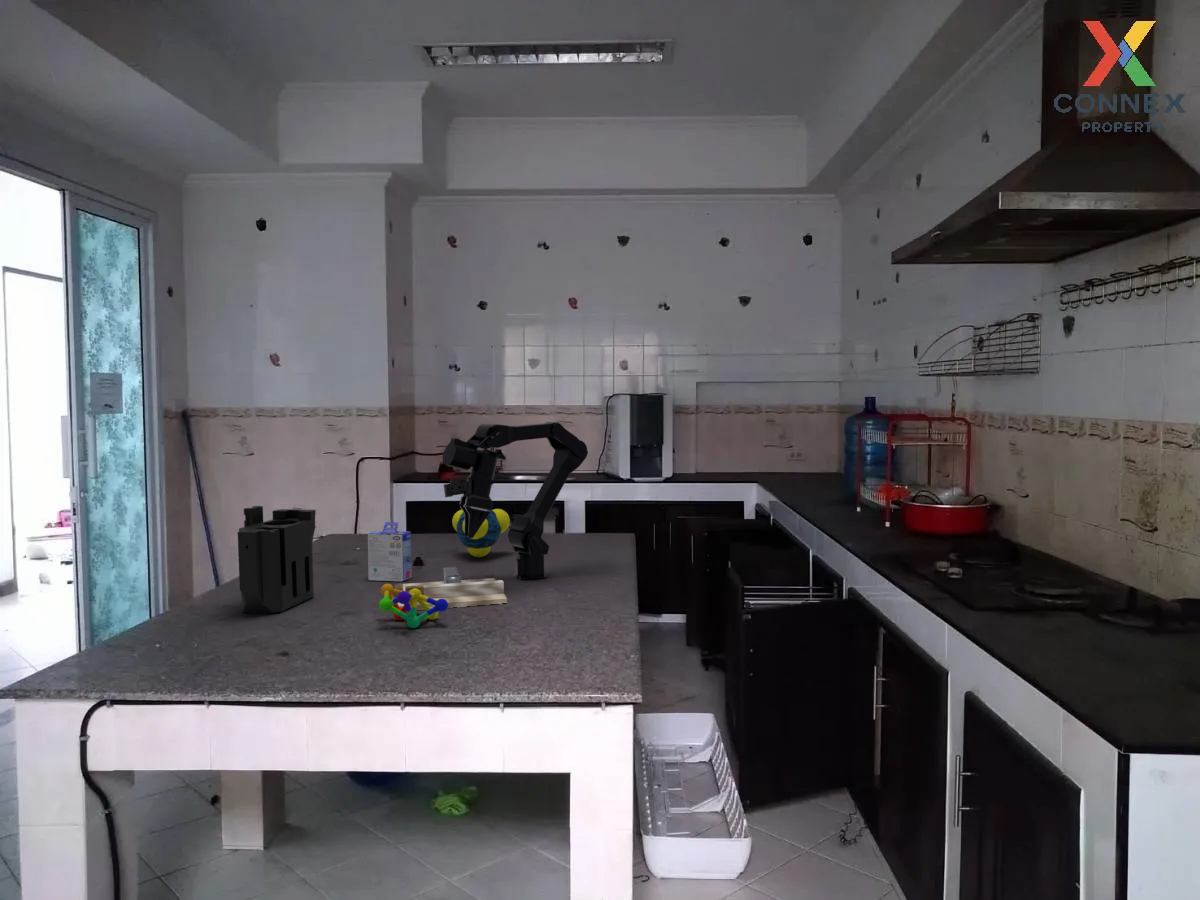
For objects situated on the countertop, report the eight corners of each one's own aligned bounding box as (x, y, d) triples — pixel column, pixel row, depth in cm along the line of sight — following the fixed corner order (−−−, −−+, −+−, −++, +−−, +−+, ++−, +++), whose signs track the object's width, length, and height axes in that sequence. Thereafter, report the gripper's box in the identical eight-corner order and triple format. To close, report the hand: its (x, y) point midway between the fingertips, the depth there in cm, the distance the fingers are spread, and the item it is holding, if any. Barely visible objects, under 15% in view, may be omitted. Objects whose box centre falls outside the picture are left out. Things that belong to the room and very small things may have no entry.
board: (494, 582, 210) (494, 567, 209) (507, 603, 188) (506, 587, 188) (395, 589, 204) (395, 573, 203) (397, 611, 182) (396, 594, 182)
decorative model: (434, 592, 183) (454, 588, 170) (428, 633, 181) (447, 632, 168) (375, 583, 178) (390, 577, 165) (367, 624, 176) (382, 623, 162)
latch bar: (462, 590, 194) (461, 577, 194) (446, 591, 193) (446, 578, 193) (457, 578, 206) (457, 566, 206) (442, 579, 205) (442, 567, 205)
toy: (505, 563, 233) (504, 510, 232) (444, 564, 234) (443, 510, 233) (511, 552, 249) (511, 502, 248) (455, 553, 250) (454, 503, 249)
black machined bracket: (320, 595, 198) (317, 502, 197) (270, 618, 178) (266, 515, 176) (274, 593, 200) (271, 502, 199) (220, 616, 180) (216, 514, 179)
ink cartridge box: (413, 577, 217) (411, 522, 216) (404, 582, 211) (402, 525, 210) (377, 576, 219) (376, 521, 218) (367, 581, 213) (366, 524, 212)
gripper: (446, 468, 213) (433, 528, 211) (452, 465, 195) (437, 532, 193) (489, 477, 215) (476, 537, 214) (499, 476, 197) (485, 541, 196)
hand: (468, 536), depth 204 cm, fingers open, 9 cm apart
